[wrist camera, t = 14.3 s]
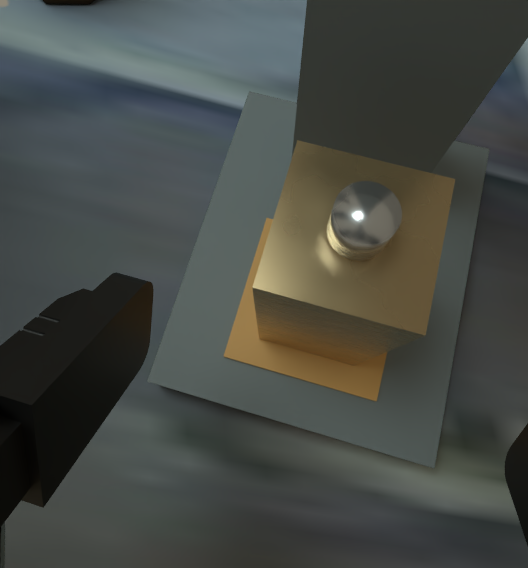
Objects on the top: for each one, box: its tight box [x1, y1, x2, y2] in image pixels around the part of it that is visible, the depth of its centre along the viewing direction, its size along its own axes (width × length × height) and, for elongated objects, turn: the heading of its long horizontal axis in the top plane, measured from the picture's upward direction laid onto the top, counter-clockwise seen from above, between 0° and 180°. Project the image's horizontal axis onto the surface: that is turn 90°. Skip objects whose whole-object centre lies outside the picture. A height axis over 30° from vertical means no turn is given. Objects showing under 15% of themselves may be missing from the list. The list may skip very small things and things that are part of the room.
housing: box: [252, 140, 455, 366], centre depth 15 cm, size 4×4×10 cm
